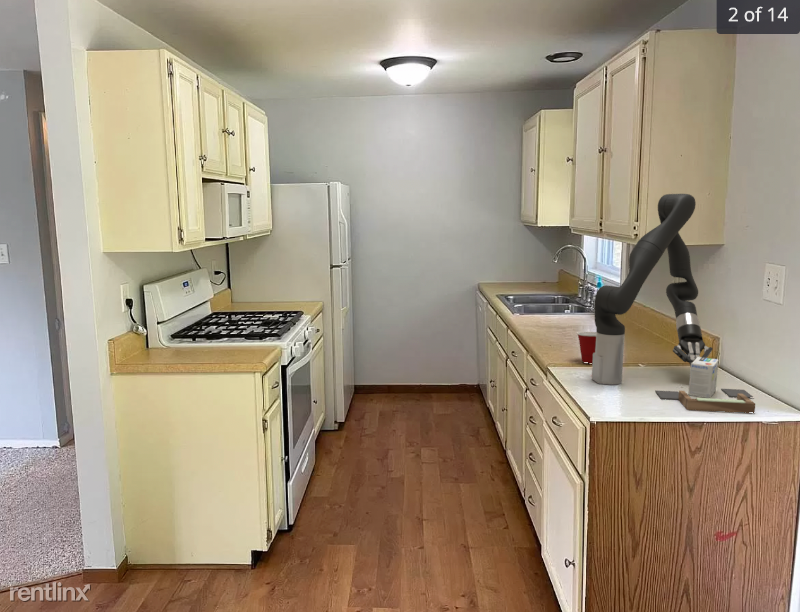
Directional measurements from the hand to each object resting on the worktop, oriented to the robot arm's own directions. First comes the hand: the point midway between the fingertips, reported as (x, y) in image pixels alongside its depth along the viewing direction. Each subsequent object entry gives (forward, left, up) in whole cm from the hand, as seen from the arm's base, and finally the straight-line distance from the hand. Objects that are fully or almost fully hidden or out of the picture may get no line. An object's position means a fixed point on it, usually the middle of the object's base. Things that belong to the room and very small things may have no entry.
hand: (696, 372), depth 205 cm
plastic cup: (-23, +35, -5) cm, 42 cm away
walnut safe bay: (-5, -20, -5) cm, 21 cm away
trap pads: (-2, -9, -5) cm, 10 cm away
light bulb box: (-1, -6, -5) cm, 9 cm away
